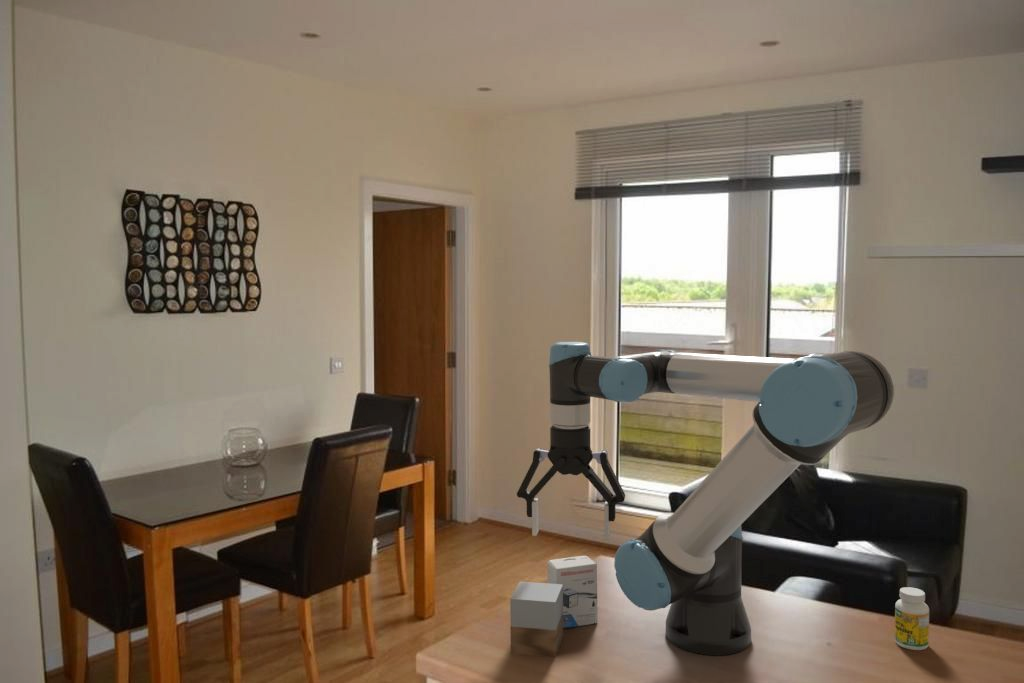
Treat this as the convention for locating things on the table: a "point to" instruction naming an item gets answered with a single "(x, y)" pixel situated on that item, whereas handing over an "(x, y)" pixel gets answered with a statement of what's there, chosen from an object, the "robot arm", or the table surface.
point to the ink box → (576, 589)
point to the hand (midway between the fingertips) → (570, 535)
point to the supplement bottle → (912, 619)
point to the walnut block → (536, 640)
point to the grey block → (536, 605)
